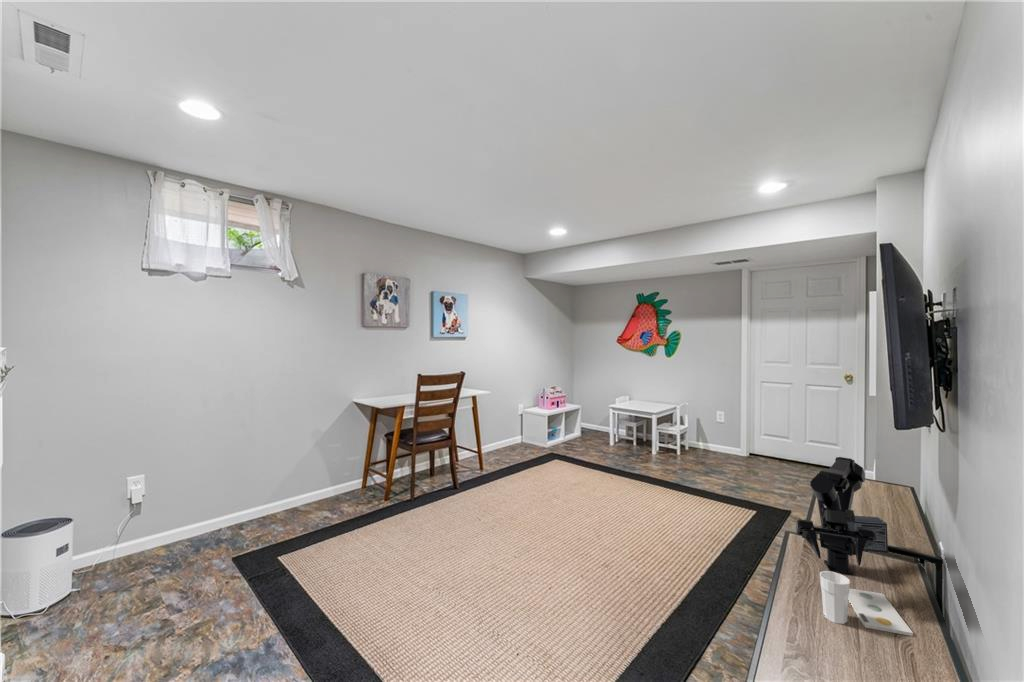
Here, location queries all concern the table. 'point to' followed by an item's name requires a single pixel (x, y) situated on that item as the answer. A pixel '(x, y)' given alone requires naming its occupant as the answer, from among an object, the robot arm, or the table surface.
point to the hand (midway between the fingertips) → (839, 561)
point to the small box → (876, 526)
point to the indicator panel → (877, 612)
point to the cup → (835, 596)
